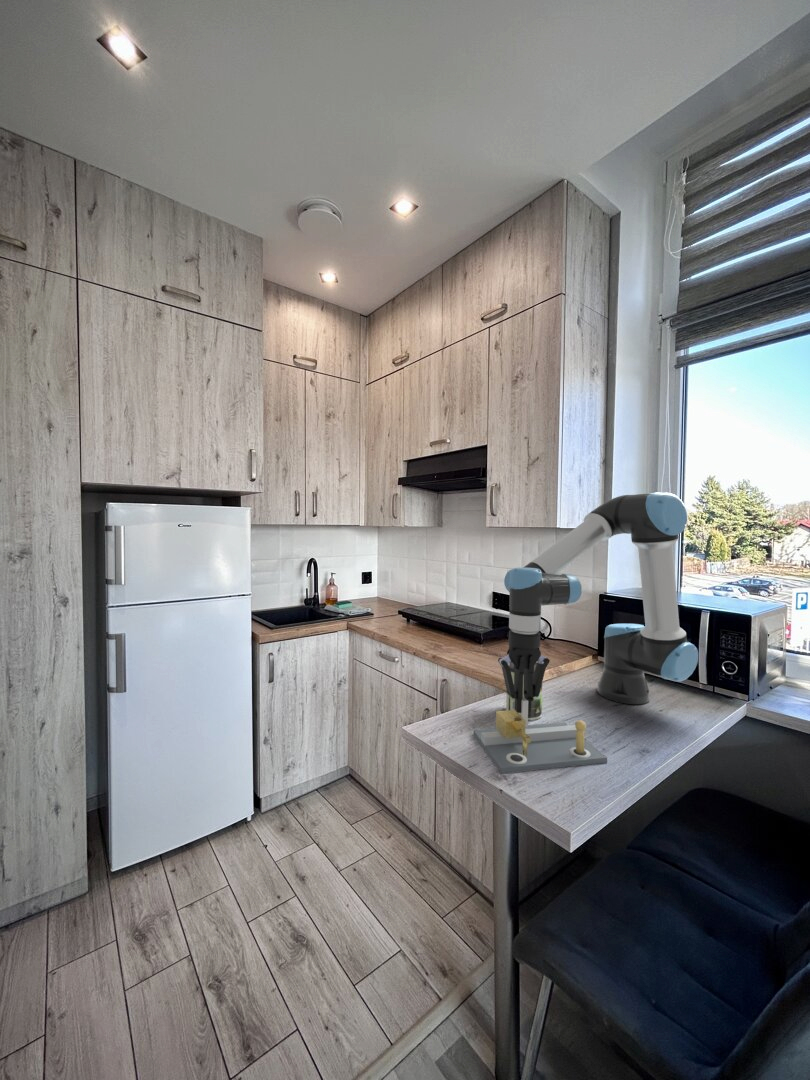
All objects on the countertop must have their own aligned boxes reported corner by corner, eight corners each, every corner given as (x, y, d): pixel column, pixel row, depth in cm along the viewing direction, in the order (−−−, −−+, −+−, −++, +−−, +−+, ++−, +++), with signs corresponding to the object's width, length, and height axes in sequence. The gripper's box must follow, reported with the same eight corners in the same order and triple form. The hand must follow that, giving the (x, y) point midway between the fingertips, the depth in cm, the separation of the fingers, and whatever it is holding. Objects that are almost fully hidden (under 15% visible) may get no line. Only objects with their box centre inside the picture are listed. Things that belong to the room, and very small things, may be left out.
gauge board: (564, 726, 117) (565, 694, 117) (607, 762, 99) (608, 725, 99) (473, 734, 112) (473, 701, 112) (501, 773, 95) (501, 734, 94)
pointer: (514, 731, 110) (514, 709, 110) (538, 757, 98) (538, 733, 98) (495, 732, 109) (496, 711, 109) (517, 759, 97) (517, 734, 97)
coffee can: (540, 707, 130) (541, 660, 129) (544, 722, 120) (545, 672, 119) (505, 704, 132) (505, 658, 131) (506, 718, 122) (506, 669, 121)
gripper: (541, 626, 111) (539, 716, 112) (493, 627, 109) (491, 719, 110) (556, 633, 104) (554, 729, 105) (506, 635, 101) (504, 733, 102)
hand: (522, 724), depth 107 cm, fingers closed
